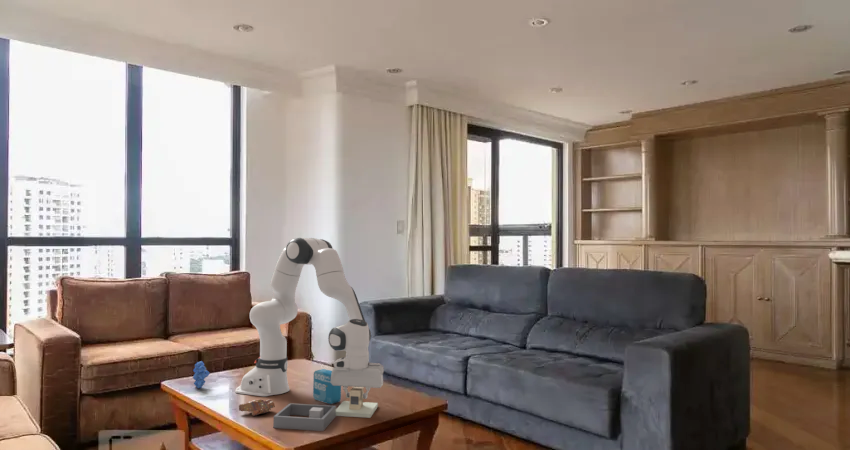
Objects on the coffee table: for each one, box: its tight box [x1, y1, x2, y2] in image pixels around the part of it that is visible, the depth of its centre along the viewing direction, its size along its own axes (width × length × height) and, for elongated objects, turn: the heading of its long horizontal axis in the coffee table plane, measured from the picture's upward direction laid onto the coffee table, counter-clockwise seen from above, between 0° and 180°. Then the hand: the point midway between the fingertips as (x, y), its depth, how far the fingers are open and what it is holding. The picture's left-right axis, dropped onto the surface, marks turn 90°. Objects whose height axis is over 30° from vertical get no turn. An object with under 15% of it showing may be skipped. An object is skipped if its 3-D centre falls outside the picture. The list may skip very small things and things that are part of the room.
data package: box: [312, 368, 342, 405], centre depth 238 cm, size 12×4×12 cm, turn 51°
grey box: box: [308, 407, 324, 418], centre depth 211 cm, size 4×4×5 cm
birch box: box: [348, 387, 364, 410], centre depth 225 cm, size 6×4×7 cm, turn 173°
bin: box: [272, 402, 337, 432], centre depth 211 cm, size 18×16×4 cm
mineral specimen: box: [238, 399, 276, 417], centre depth 220 cm, size 12×8×7 cm
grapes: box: [192, 360, 211, 389], centre depth 253 cm, size 12×7×12 cm, turn 37°
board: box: [336, 400, 379, 419], centre depth 225 cm, size 14×14×2 cm
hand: (356, 397), depth 225 cm, fingers open, 5 cm apart
